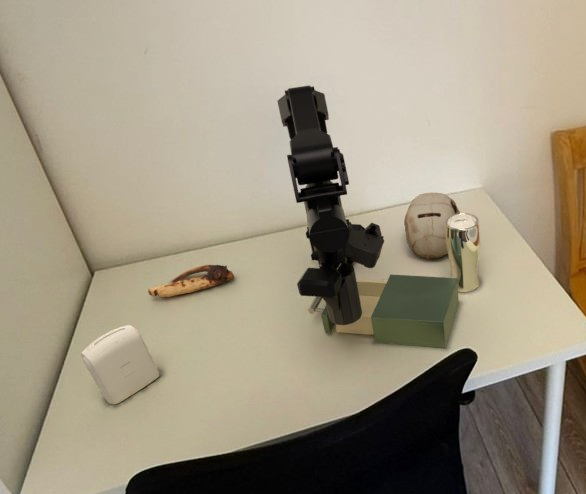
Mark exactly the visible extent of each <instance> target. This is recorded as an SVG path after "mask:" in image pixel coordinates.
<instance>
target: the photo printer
mask: <svg viewBox="0 0 586 494" xmlns="http://www.w3.org/2000/svg"><path fill="white" fill-rule="evenodd" d="M80 355H81V358H82V360H83V364H84V365H85V367H86V369H87V371H88V372H89V374H90V375H91V377H92V379H93V381H94V383H95V384H96V386H97V387H98V389H99V391H100V392H101V394H102V396H103V397H104V399H105V401H106V402H107V403H108V404H109V405H117V404H119V403H121V402H123V401H125V400H126V399H128V398H130V397H131V396H133V395H135V394H136V393H137V392H139V391H141V390H142V389H144V388H145V387H146V386H148V385H150V384H151V383H153V382H154V381H156V379H158V378H159V377H160V376H161V375H160V371H159V369H158V367H157V364H156V362H155V361H154V359H153V357H152V355H151V353H150V351H149V349H148V347H147V344H146V343H145V341H144V338H143V337H142V335H141V333H140V332H139V331H138V330H137V328H136V327H134V326H132V325H131V324H128V325H127V324H126V325H122V326H120V327H116V328H113V329H111V330H110V331H107V332H106V333H104V334H102V335H100V336H99V337H97V338H96V339H94V340H93V341H92V342H90V344H88V345H87V346H86V347H85V348H84V349H83V350H82V352H81V353H80Z"/></svg>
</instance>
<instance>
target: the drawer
mask: <svg viewBox="0 0 586 494" xmlns="http://www.w3.org/2000/svg"><path fill="white" fill-rule="evenodd" d="M356 281H357V287H358V292H359V298H360V304H361V309H362V315H361V317H360V319H359V320H357V321H356V322H354V323H352V324H348V325H337V324H334V323H332V322H331V321H330V318H329V314H328V310H327V305H326V304H325V307H324V308H323V307H319V306H320V304H321V302H322V301H323V300H324V299H323V298H322V297H315V296H314V299H313V300H312V302H311V303H310V305H309V307H308V309H307V312H308V313H309V314H311V315H314V314H315V313H320V314H321V315H320V316H321V320H322V325H323V329H324V334H327V335H332V333H333V332H334V329H335V328H336V332H337V333H346V334H358V335H359V334H360V335H372V336H374V332H373V326H372V320H371V316H372V314H373V312H374V309H375V307H376V305H377V303H378V301H379V298H380V296H381V294H382V292H383V290H384V287H385V285H386V283H387V281H388V280H378V279H377V280H374V279H359V278H356Z"/></svg>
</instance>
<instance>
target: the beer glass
mask: <svg viewBox="0 0 586 494" xmlns="http://www.w3.org/2000/svg"><path fill="white" fill-rule="evenodd" d="M479 222H480V221H479V218H478V216H476V215H475V214H471V213H467V212H460V213H459V214H454V215H452V216H450V217H448V218H447V219H446V221H445V224H446V226H445V241H446V249H447V256H448V260H449V264H450V268H451V277H450V278H457V285H458V293H469V292H473V291H475V290H476V289H478V288H479V286H480V278H479V274H478V262H479V257H480V249H481V231H480V223H479Z"/></svg>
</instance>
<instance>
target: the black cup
mask: <svg viewBox="0 0 586 494" xmlns="http://www.w3.org/2000/svg"><path fill="white" fill-rule="evenodd" d="M338 271H339V273H340V274H341V278H342V279H346V281H345V283H344V284H343V286H342V288H341V289H340V310H339V311H335V310H333V309H332V308H331V307H330V306H329V305H328V304H327V303H326V302H325V306H326V305H327V310H328V314H329V318H330V321H331V322H332V323H334V324H337V325H348V324H352V323H354V322H356V321H357V320H359V319H360V317H361V315H362V309H361V304H360V298H359V292H358V287H357V281H356V279H357V276H356V271H355V267H354V266H353V265H352V264H350V263H348V262H346V264H343V263H341V265H340V267H339V269H338Z"/></svg>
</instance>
